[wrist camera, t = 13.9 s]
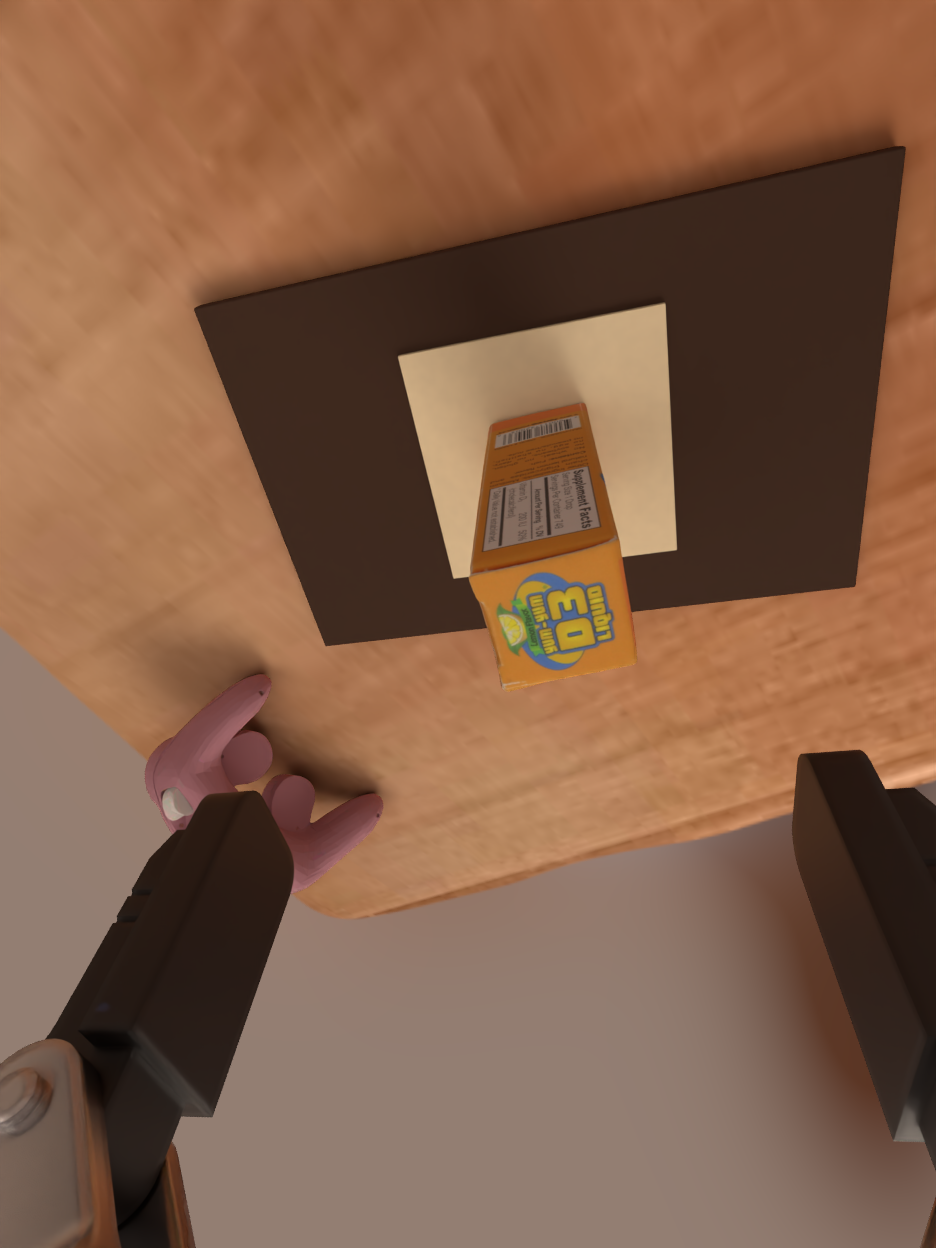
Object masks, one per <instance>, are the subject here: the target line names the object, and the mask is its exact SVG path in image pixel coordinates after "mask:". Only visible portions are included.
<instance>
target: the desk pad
mask: <svg viewBox="0 0 936 1248" xmlns="http://www.w3.org/2000/svg"><path fill="white" fill-rule="evenodd" d="M905 150H906V149H905V147H904V146H895V147H891V148H887V149H882V150H878V151H873V152H869V153H865V154H860V155H856V156H851V157H847V158H843V159H838V160H834V161H830V162H825V163H821V164H816V165H812V166H808V167H803V168H799V169H795V170H790V171H786V172H781V173H777V174H773V175H768V176H764V177H759V178H755V179H751V180H746V181H742V182H738V183H733V184H729V185H724V186H720V187H716V188H711V189H707V190H703V191H698V192H694V193H689V194H685V195H681V196H676V197H672V198H668V199H663V200H659V201H654V202H650V203H646V204H641V205H637V206H632V207H628V208H624V209H619V210H615V211H611V212H606V213H602V214H597V215H593V216H589V217H584V218H580V219H576V220H571V221H567V222H562V223H558V224H554V225H549V226H545V227H540V228H536V229H532V230H527V231H523V232H519V233H514V234H510V235H505V236H501V237H497V238H492V239H488V240H484V241H479V242H475V243H470V244H466V245H462V246H457V247H453V248H448V249H444V250H440V251H435V252H431V253H427V254H422V255H418V256H413V257H409V258H405V259H400V260H396V261H392V262H387V263H383V264H378V265H374V266H370V267H365V268H361V269H356V270H352V271H348V272H343V273H339V274H335V275H330V276H326V277H321V278H317V279H313V280H308V281H304V282H300V283H295V284H291V285H286V286H282V287H278V288H273V289H269V290H265V291H260V292H256V293H251V294H247V295H243V296H238V297H234V298H229V299H225V300H221V301H216V302H212V303H208V304H203V305H200V306H198V307H196V308H194V311H195V313H196V316H197V318H198V321H199V324H200V326H201V329H202V331H203V334H204V336H205V339H206V341H207V344H208V347H209V349H210V352H211V354H212V357H213V359H214V362H215V364H216V367H217V370H218V372H219V375H220V377H221V380H222V382H223V385H224V387H225V390H226V393H227V395H228V398H229V400H230V403H231V405H232V408H233V410H234V413H235V416H236V418H237V421H238V423H239V426H240V428H241V431H242V434H243V436H244V439H245V441H246V444H247V446H248V449H249V451H250V454H251V457H252V459H253V462H254V464H255V467H256V469H257V472H258V474H259V477H260V480H261V482H262V485H263V487H264V490H265V492H266V495H267V497H268V500H269V503H270V505H271V508H272V510H273V513H274V515H275V518H276V520H277V523H278V526H279V528H280V531H281V533H282V536H283V538H284V541H285V543H286V546H287V549H288V551H289V554H290V556H291V559H292V561H293V564H294V566H295V569H296V572H297V574H298V577H299V579H300V582H301V584H302V587H303V589H304V592H305V595H306V597H307V600H308V602H309V605H310V607H311V610H312V612H313V615H314V618H315V620H316V623H317V625H318V628H319V630H320V633H321V635H322V638H323V641H324V643H325V645H326V646H331V645H340V644H349V643H358V642H367V641H376V640H385V639H394V638H403V637H411V636H420V635H429V634H438V633H447V632H456V631H465V630H474V629H483V628H487V626H486V623H485V620H484V616H483V612H482V609H481V606H480V603H479V601H478V600H477V598H476V596H475V594H474V592H473V589H472V587H471V584H470V582H469V576H470V565H471V558H472V550H473V541H474V534H475V526H476V519H477V510H478V502H479V496H480V488H481V480H482V473H483V465H484V458H485V451H486V446H487V439H488V432H489V427H490V426H491V425H492V424H493V423H497V422H501V421H505V420H509V419H514V418H518V417H522V416H526V415H530V414H535V413H539V412H543V411H548V410H552V409H557V408H561V407H565V406H570V405H573V404H577V403H585V404H586V407H587V411H588V415H589V420H590V424H591V429H592V433H593V437H594V441H595V445H596V449H597V453H598V457H599V461H600V465H601V469H602V473H603V476H604V480H605V484H606V489H607V493H608V497H609V501H610V505H611V510H612V514H613V517H614V521H615V525H616V528H617V532H618V537H619V540H620V546H621V553H622V559H623V565H624V572H625V578H626V583H627V589H628V595H629V601H630V607H631V612H634V611H643V610H652V609H661V608H670V607H679V606H688V605H697V604H706V603H715V602H724V601H732V600H741V599H750V598H759V597H768V596H777V595H786V594H795V593H804V592H813V591H822V590H831V589H839V588H848V587H855V585H856V576H857V568H858V559H859V550H860V542H861V533H862V524H863V515H864V507H865V498H866V489H867V481H868V472H869V463H870V455H871V446H872V437H873V428H874V420H875V411H876V402H877V394H878V385H879V376H880V367H881V359H882V350H883V341H884V333H885V324H886V315H887V306H888V298H889V289H890V280H891V272H892V263H893V254H894V245H895V237H896V228H897V219H898V211H899V202H900V193H901V184H902V176H903V167H904V158H905Z"/></svg>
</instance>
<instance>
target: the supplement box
mask: <svg viewBox="0 0 936 1248" xmlns="http://www.w3.org/2000/svg"><path fill="white" fill-rule="evenodd" d="M469 582H470V584H471V587H472V589H473V592H474V594H475V596H476V598H477V600H478V601H479V603H480V606H481V609H482V612H483V616H484V620H485V623H486V626H487V630H488V633H489V637H490V640H491V643H492V647H493V651H494V654H495V658H496V662H497V667H498V671H499V676H500V682H501V686H502V688H503V690H505V691H508V692H509V691H513V690H517V689H522V688H525V687H529V686H533V685H537V684H540V683H544V682H548V681H553V680H559V679H564V678H570V677H575V676H579V675H585V674H590V673H596V672H601V671H606V670H611V669H615V668H620V667H624V666H630V665H633V664H635V663H636V662H637V650H636V642H635V634H634V626H633V620H632V614H631V607H630V601H629V595H628V589H627V583H626V578H625V572H624V565H623V559H622V553H621V546H620V540H619V537H618V532H617V528H616V525H615V521H614V517H613V514H612V510H611V505H610V501H609V497H608V493H607V489H606V484H605V480H604V476H603V473H602V469H601V465H600V461H599V457H598V453H597V449H596V445H595V441H594V437H593V433H592V429H591V424H590V420H589V415H588V411H587V407H586V404H585V403H577V404H573V405H570V406H565V407H561V408H557V409H552V410H548V411H543V412H539V413H535V414H530V415H526V416H522V417H518V418H514V419H509V420H505V421H501V422H497V423H493V424H492V425H491V426H490V427H489V432H488V439H487V446H486V451H485V458H484V465H483V473H482V480H481V488H480V496H479V502H478V510H477V519H476V526H475V534H474V541H473V550H472V558H471V565H470V576H469Z"/></svg>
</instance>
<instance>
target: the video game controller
mask: <svg viewBox="0 0 936 1248" xmlns="http://www.w3.org/2000/svg"><path fill="white" fill-rule="evenodd" d="M270 690H271V680H270V678H268V677H267V676H266V675H263V674H260V675H253V676H250V677H247V678H245V679H243V680H241V681H239V682H237V683H236V684H234V685H232V686H231V687H229V688H228V689H226V690H225V691H224V692H222V693H221V694H219V695H218V696H217V697H216V698H214V699H213V700H212V701H211V702H210V703H209V704H208V705H206V706H205V707H204V708H203V709H202V710H201V711H200V712H199V713H198V714H196V715H195V716H194V717H193V718H192V719H191V720H190V721H189V722H188V723H187V724H186V725H185V726H184V727H183V728H182V729H181V730H180V731H179V732H178V733H177V734H176V735H175V736H174V737H172V738H169V739H168V740H166V741H164V742H163V743H162V744H161V745H159V746H158V747H157V748H156V749H155V751H154V752H153V753H152V754H151V756H150V757H149V760H148V762H147V765H146V769H145V783H146V788H147V791H148V793H149V795H150V797H151V799H152V800H153V801H154V802H155V803H156V805H157V806H158V807H159V810H160V812H161V815H162V817H163V819H164V821H165V823H166V825H167V826H168V828H169V830H170V831H171V833H172V834H173V833H174V832H175V831H176V830H183V829H186V827H187V825H188V824H189V822H190V820H191V818H192V816H193V814H194V812H195V810H196V809H197V807H198V805H199V803H200V802H201V800H202V799H203V798H204V797H205V796H207V795H209V794H214V793H229V792H238V791H237V789H236V788H235V787H234V786H236V785H239V784H248V783H251V782H254V781H256V780H258V779H259V778H261V777H262V776H263V775H264V774H265V773H266V772H267V770H268V769H269V767H270V766H271V763H272V758H273V753H272V748H271V745H270V743H269V741H268V740H267V738H266V737H265V736H264V735H262V734H261V733H259V732H255V731H251V730H240V729H241V728H242V727H243V726H244V725H245V724H246V723H247V722H248V721H249V720H250V719H251V718H252V717H253V716H254V715H255V714H256V713H257V712H258V711H259V710H260V709H261V707H262V705H263V704H264V702H265V701H266V699H267V698H268V695H269V692H270ZM262 797H263V799H264V800H265V802H266V804H267V806H268V808H269V810H270V812H271V814H272V816H273V818H274V819H275V821H276V823H277V825H278V827H279V829H280V831H281V833H282V835H283V836H284V838H285V840H286V842H287V844H288V846H289V848H290V850H291V853H292V856H293V861H294V880H293V886H292V890H291V893H290V894H292V893H295V892H298V891H301V890H303V889H305V888H307V887H309V886H310V885H311V884H313V883H314V882H315V881H317V880H318V879H319V878H320V877H321V876H322V875H324V874H325V873H326V872H327V871H328V870H329V869H330V868H331V867H333V866H334V865H335V864H336V863H337V862H338V861H339V860H341V859H342V858H343V857H344V856H345V855H346V854H347V853H349V852H350V851H351V850H352V849H353V848H354V847H355V846H357V845H358V844H359V843H360V842H361V841H362V840H363V839H364V838H365V837H366V836H367V835H368V834H369V833H370V832H371V831H372V830H373V828H374V827H375V825H376V824H377V822H378V821H379V819H380V816H381V814H382V810H383V801H382V799H381V798H380V796H378V795H376V794H375V793H373V794H366V795H361V796H358V797H356V798H354V799H351V800H349V801H347V802H346V803H344V804H342V805H340V806H339V807H337V808H335V809H334V810H332V811H330V812H329V813H327V814H326V815H324V816H323V817H321V818H320V819H319V820H317V821H316V822H314V823H310V818H311V813H312V809H313V805H314V802H315V791H314V788H313V786H312V784H311V783H310V782H309V781H308V780H307V779H306V778H304V777H301V776H295V775H287V774H282V775H278V776H276V777H274V778H273V779H271V780H270V781H269V783H268V784H267V785H266V787H265V789H264V791H263V794H262Z"/></svg>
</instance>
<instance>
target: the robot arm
mask: <svg viewBox="0 0 936 1248" xmlns="http://www.w3.org/2000/svg"><path fill="white" fill-rule="evenodd" d="M792 835H793V844H794V851H795V856H796V861H797V865H798V868H799V871H800V875H801V877H802V880H803V883H804V886H805V889H806V892H807V895H808V898H809V900H810V903H811V906H812V909H813V912H814V915H815V918H816V920H817V923H818V926H819V929H820V932H821V935H822V938H823V940H824V943H825V946H826V949H827V952H828V955H829V958H830V960H831V963H832V966H833V969H834V972H835V975H836V978H837V980H838V983H839V986H840V989H841V992H842V995H843V998H844V1001H845V1004H846V1006H847V1009H848V1012H849V1015H850V1018H851V1021H852V1024H853V1026H854V1029H855V1032H856V1035H857V1038H858V1041H859V1044H860V1047H861V1050H862V1052H863V1055H864V1058H865V1061H866V1064H867V1067H868V1069H869V1072H870V1075H871V1078H872V1081H873V1084H874V1087H875V1090H876V1092H877V1095H878V1098H879V1101H880V1104H881V1107H882V1109H883V1112H884V1115H885V1118H886V1121H887V1124H888V1127H889V1130H890V1132H891V1136H892V1138H893V1141H911V1142H925V1144H926V1146H927V1149H928V1151H929V1154H930V1157H931V1160H932V1162H933V1165H934V1167H935V1170H936V806H935V805H934V804H933V803H932V802H931V801H929V800H928V799H927V798H926V797H925V796H923V795H922V794H921V793H920V792H919V791H918V790H916V789H915V788H899V789H885V788H884V786H883V784H882V782H881V780H880V778H879V776H878V774H877V773H876V771H875V769H874V767H873V765H872V763H871V761H870V760H869V758H868V756H867V755H866V754H865V753H864V752H863V751H861V750H849V751H835V752H821V753H807V754H801V755H800V756H799V758H798V763H797V774H796V786H795V798H794V810H793V822H792ZM293 880H294V861H293V856H292V853H291V850H290V848H289V846H288V844H287V842H286V840H285V838H284V836H283V835H282V833H281V831H280V829H279V827H278V825H277V823H276V821H275V819H274V818H273V816H272V814H271V812H270V810H269V808H268V806H267V804H266V802H265V800H264V799H263V797H262V796H261V795H260V793H258V792H257V791H243V792H229V793H214V794H209V795H207V796H205V797H204V798H203V799H202V800H201V802H200V803H199V805H198V807H197V809H196V810H195V812H194V814H193V816H192V818H191V820H190V822H189V824H188V825H187V827H186V829H183V830H176V831H175V832H174V833H173V835H172V836H171V837H170V838H169V839H168V840H167V841H166V842H165V843H164V844H163V845H162V846H161V847H160V848H159V849H158V850H157V851H156V852H155V853H154V854H153V855H152V856H151V857H150V859H149V860H148V862H147V864H146V866H145V867H144V869H143V871H142V873H141V874H140V876H139V878H138V880H137V882H136V884H135V885H134V887H133V889H132V895H131V896H128V897H127V899H126V901H125V903H124V905H123V906H122V908H121V910H120V912H119V913H118V915H117V922H116V923H113V924H112V926H111V927H110V929H109V931H108V933H107V935H106V936H105V938H104V940H103V941H102V943H101V945H100V947H99V949H98V950H97V952H96V954H95V956H94V957H93V959H92V961H91V963H90V965H89V966H88V968H87V970H86V972H85V973H84V975H83V977H82V979H81V981H80V982H79V984H78V986H77V987H76V989H75V991H74V993H73V995H72V996H71V998H70V1000H69V1002H68V1003H67V1005H66V1007H65V1009H64V1010H63V1012H62V1014H61V1016H60V1017H59V1019H58V1021H57V1023H56V1025H55V1026H54V1028H53V1029H52V1031H51V1032H50V1034H49V1035H48V1036H47V1038H46V1039H45V1040H41V1041H38V1042H35V1043H32V1044H30V1045H28V1046H26V1047H24V1048H22V1049H20V1050H18V1051H17V1052H15V1053H14V1054H12V1055H11V1056H10V1057H8V1058H7V1059H6V1060H4V1062H2V1063H1V1064H0V1248H196V1247H195V1242H194V1237H193V1232H192V1226H191V1221H190V1216H189V1211H188V1206H187V1200H186V1195H185V1190H184V1185H183V1180H182V1175H181V1169H180V1165H179V1159H178V1154H177V1151H176V1147H175V1146H174V1144H173V1142H172V1139H173V1136H174V1133H175V1130H176V1128H177V1126H178V1123H179V1120H180V1118H181V1116H186V1117H213V1114H214V1111H215V1108H216V1105H217V1102H218V1099H219V1097H220V1094H221V1091H222V1088H223V1085H224V1082H225V1079H226V1077H227V1073H228V1071H229V1068H230V1065H231V1062H232V1059H233V1056H234V1054H235V1051H236V1048H237V1045H238V1042H239V1039H240V1036H241V1034H242V1031H243V1027H244V1025H245V1022H246V1019H247V1016H248V1013H249V1011H250V1008H251V1005H252V1002H253V999H254V996H255V993H256V991H257V988H258V985H259V982H260V979H261V976H262V973H263V970H264V968H265V965H266V962H267V959H268V956H269V953H270V950H271V948H272V945H273V942H274V939H275V936H276V933H277V930H278V928H279V925H280V922H281V919H282V916H283V913H284V910H285V907H286V905H287V901H288V899H289V896H290V893H291V890H292V886H293ZM920 1248H936V1198H935V1201H934V1204H933V1207H932V1210H931V1214H930V1218H929V1220H928V1223H927V1227H926V1230H925V1233H924V1236H923V1240H922V1243H921V1246H920Z"/></svg>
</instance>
